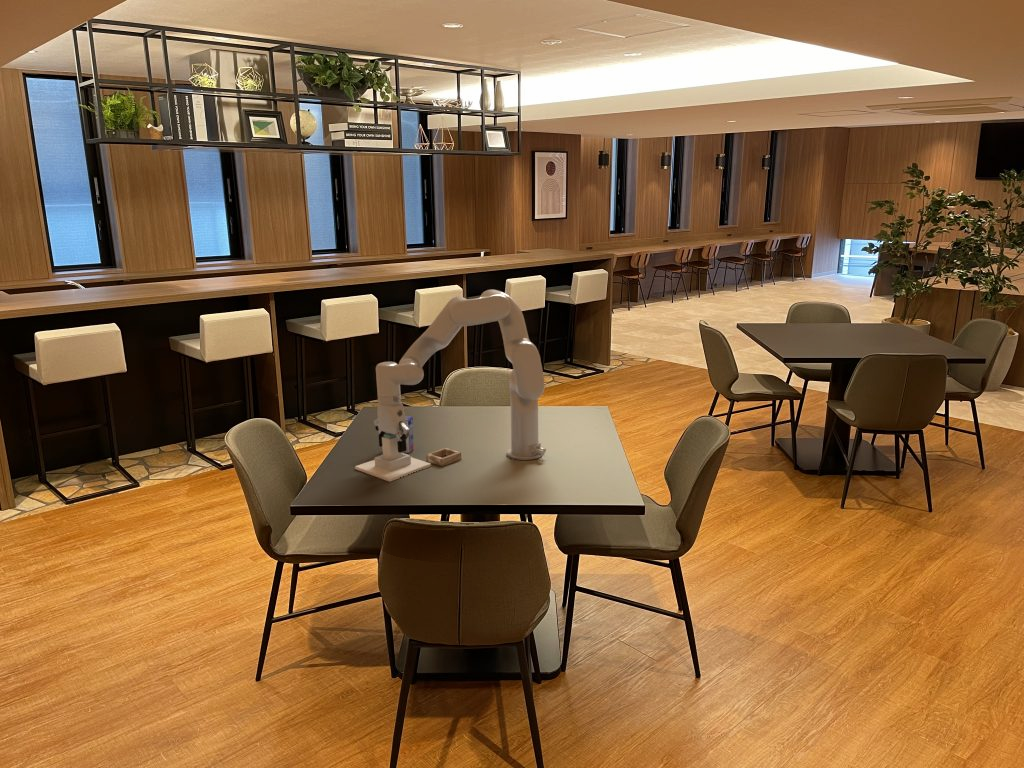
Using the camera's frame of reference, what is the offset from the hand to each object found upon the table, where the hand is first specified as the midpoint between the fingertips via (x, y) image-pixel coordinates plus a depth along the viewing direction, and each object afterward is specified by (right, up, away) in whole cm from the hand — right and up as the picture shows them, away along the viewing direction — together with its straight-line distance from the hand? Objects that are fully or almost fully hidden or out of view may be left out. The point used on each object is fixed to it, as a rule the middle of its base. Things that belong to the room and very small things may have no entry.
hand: (392, 448), depth 260 cm
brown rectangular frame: (+16, -5, +8) cm, 19 cm away
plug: (0, -6, +1) cm, 6 cm away
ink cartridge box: (0, -2, +19) cm, 19 cm away
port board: (0, -7, +2) cm, 7 cm away
